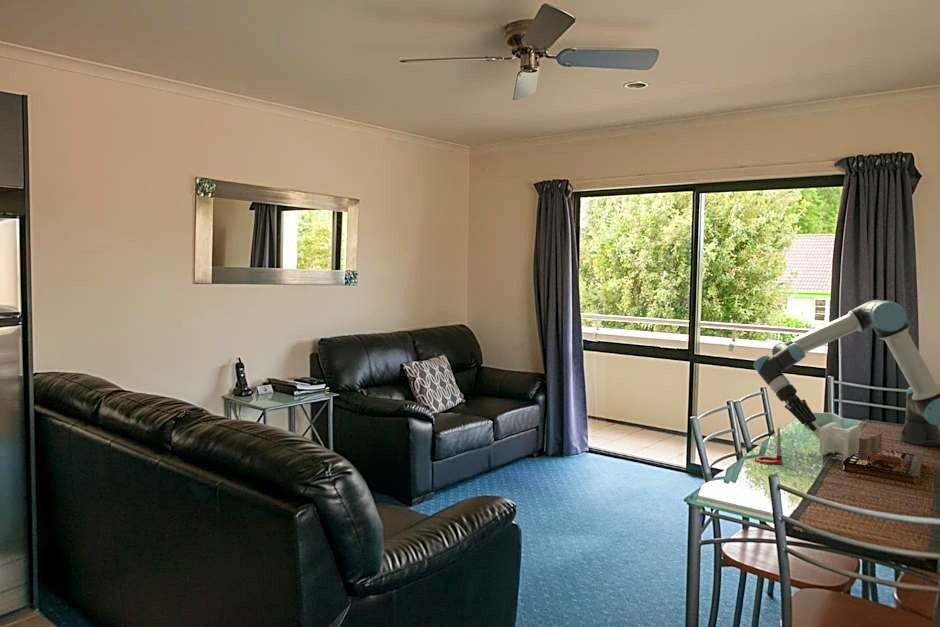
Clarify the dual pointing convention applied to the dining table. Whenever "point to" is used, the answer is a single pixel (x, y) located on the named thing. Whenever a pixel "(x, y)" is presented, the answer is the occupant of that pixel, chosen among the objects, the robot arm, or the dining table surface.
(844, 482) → the dining table surface
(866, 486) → the dining table surface
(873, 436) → the keeper stop
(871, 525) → the dining table surface
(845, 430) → the cable organizer
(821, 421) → the l-shaped corner panel
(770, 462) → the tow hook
